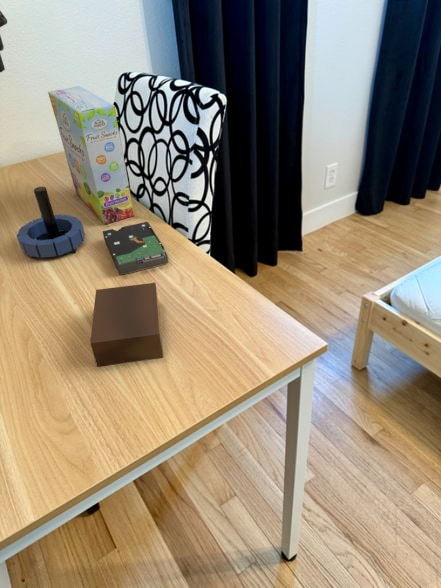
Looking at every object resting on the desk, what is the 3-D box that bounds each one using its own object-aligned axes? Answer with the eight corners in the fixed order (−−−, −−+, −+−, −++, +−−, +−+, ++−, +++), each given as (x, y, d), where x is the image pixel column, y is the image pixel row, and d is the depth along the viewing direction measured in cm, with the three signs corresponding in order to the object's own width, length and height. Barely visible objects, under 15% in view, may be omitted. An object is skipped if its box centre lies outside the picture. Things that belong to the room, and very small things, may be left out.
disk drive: (103, 242, 94) (119, 276, 83) (101, 231, 93) (116, 264, 82) (149, 231, 97) (170, 263, 86) (147, 220, 96) (168, 251, 85)
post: (31, 258, 90) (11, 200, 82) (39, 236, 97) (21, 182, 89) (75, 253, 91) (60, 196, 83) (79, 232, 98) (65, 178, 90)
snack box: (72, 194, 114) (45, 90, 98) (103, 186, 118) (82, 84, 102) (102, 226, 100) (76, 110, 84) (136, 216, 103) (118, 102, 87)
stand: (97, 366, 65) (90, 342, 62) (101, 312, 75) (95, 289, 72) (163, 357, 66) (159, 333, 63) (159, 305, 76) (155, 282, 73)
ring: (15, 260, 87) (11, 247, 85) (28, 229, 97) (24, 217, 96) (81, 253, 89) (77, 241, 87) (87, 224, 99) (84, 212, 97)
